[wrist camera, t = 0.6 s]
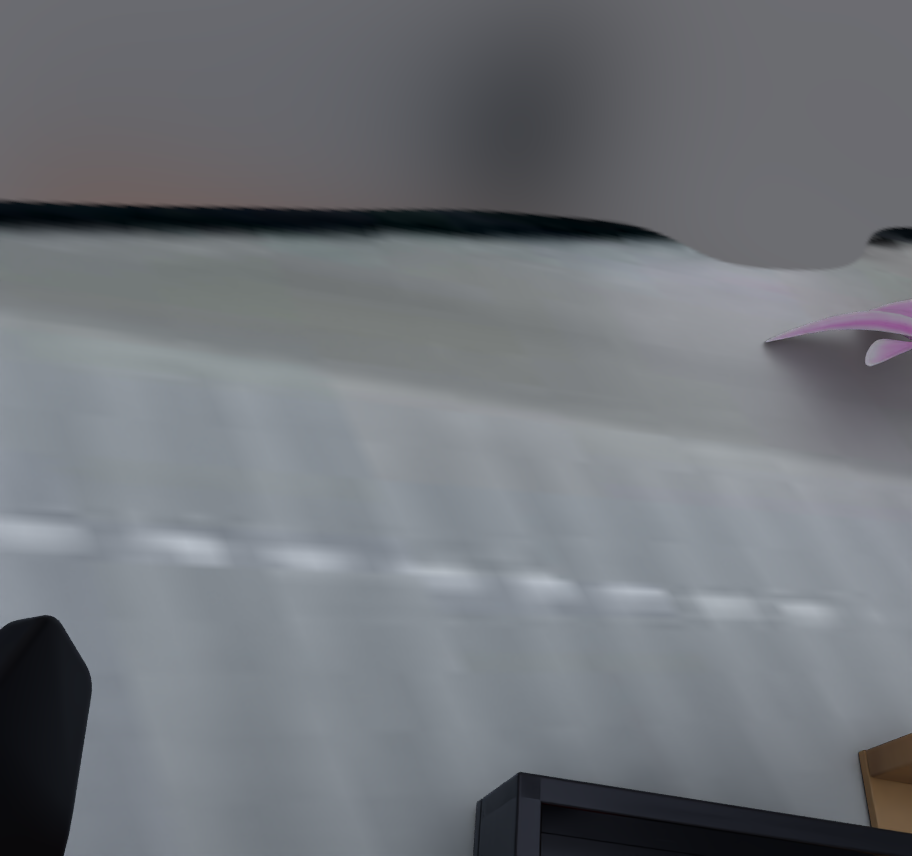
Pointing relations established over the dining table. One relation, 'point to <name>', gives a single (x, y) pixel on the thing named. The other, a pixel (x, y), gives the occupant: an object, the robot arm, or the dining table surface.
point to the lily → (868, 328)
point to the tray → (889, 784)
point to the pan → (655, 825)
